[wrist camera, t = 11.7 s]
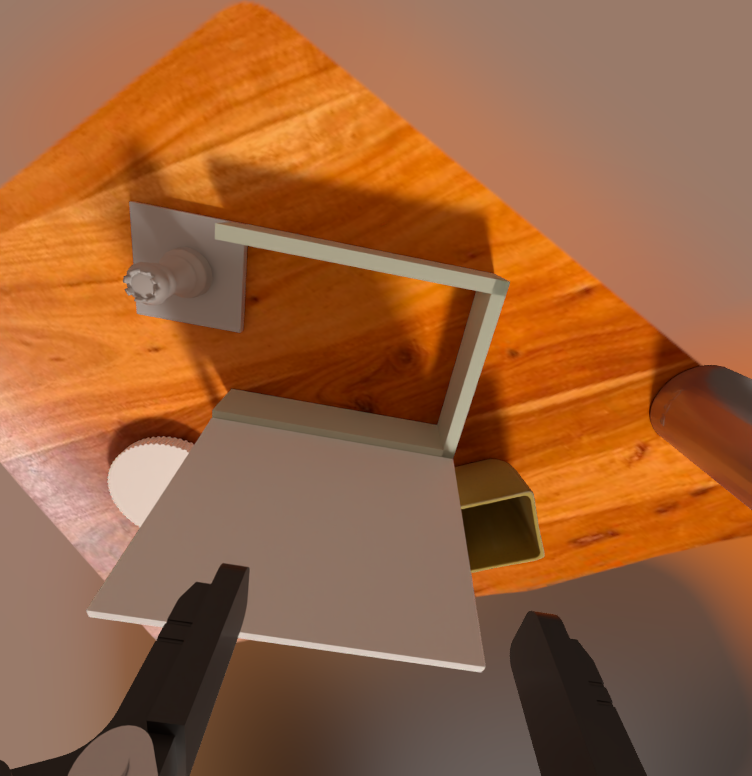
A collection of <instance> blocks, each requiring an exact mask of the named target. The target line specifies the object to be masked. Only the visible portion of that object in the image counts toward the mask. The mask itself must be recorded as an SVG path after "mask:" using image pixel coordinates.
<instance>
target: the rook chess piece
mask: <svg viewBox="0 0 752 776" xmlns="http://www.w3.org/2000/svg"><path fill="white" fill-rule="evenodd" d="M212 279H213V277H212V270H211V267H210V265H209V263H208V261H207V259H206V258H205V257H204V256H203V255H201V254H200V253H199V252H198V251H196V250H194V249H191V248H189V247H178V248H176V249H173V250H170V251H168V252H166V253H165V254H164V255H163V257H162V258H161V259H160V261H159V263H148V262H138V263H136V264H133V265H132V266H131V267H130V268H129V270H128V271H127V275H126V276H124V279H123V283H127V287H128V288H127V289H125V291H126V292H127V294H128V296H129V295H132V296H133V297H135V300H134V301H137V302H139V303H144V304H146V305H151V306H157V305H159V304H162V303H164V301H165V300H166V299H167V298H169V297H171V296H172V295H173V294H174V295H176V296H179V297H181V298H194V297H198V296H200V295H203V294H205V293H206V292H207V290H208V289H209V288H210V287H211V283H212Z"/></svg>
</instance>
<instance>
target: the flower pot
mask: <svg viewBox="0 0 752 776" xmlns="http://www.w3.org/2000/svg"><path fill="white" fill-rule="evenodd" d="M454 468H455V475H456V481H457V487H458V494H459V500H460V506H461V513H462V519H463V526H464V532H465V538H466V545H467V551H468V557H469V564H470V570H471V573H473V572H478V571H483V570H487V569H493V568H497V567H502V566H507V565H513V564H519V563H524V562H529V561H535V560H538V559H541V558H543V557H544V549H543V544H542V540H541V535H540V531H539V525H538V519H537V512H536V506H535V499H534V494H533V492H532V491H531V489H530V488H529V487H528V485H527V484H526V483H525V481H524V480H523V479H522V478H521V476H520V475H519V474H518V472H517V471H516V470H515V469H514V468H513V467H512V466H511V465H510V464H508V463H506V462H504V461H502V460H497V459H487V460H483V461H478V462H474V463H470V464H466V465H461V466H457V467H454Z"/></svg>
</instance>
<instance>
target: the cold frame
mask: <svg viewBox="0 0 752 776" xmlns="http://www.w3.org/2000/svg"><path fill="white" fill-rule="evenodd" d="M215 239H217V240H222V241H227V242H232V243H237V244H242V245H247V246H252V247H257V248H262V249H267V250H272V251H277V252H282V253H287V254H292V255H298V256H303V257H308V258H313V259H318V260H323V261H328V262H333V263H338V264H343V265H348V266H353V267H358V268H363V269H368V270H373V271H378V272H383V273H389V274H394V275H399V276H404V277H409V278H414V279H419V280H424V281H429V282H434V283H439V284H444V285H449V286H454V287H459V288H464V289H469V290H474V291H476V293H475V297H474V300H473V304H472V307H471V311H470V314H469V317H468V321H467V324H466V328H465V331H464V335H463V338H462V342H461V345H460V348H459V352H458V355H457V359H456V362H455V366H454V369H453V372H452V376H451V379H450V383H449V386H448V390H447V393H446V397H445V400H444V403H443V407H442V410H441V414H440V417H439V421H438V424H437V425H434V424H429V423H423V422H417V421H412V420H406V419H400V418H395V417H389V416H383V415H378V414H372V413H366V412H361V411H355V410H349V409H344V408H338V407H332V406H327V405H321V404H315V403H310V402H304V401H298V400H293V399H287V398H282V397H276V396H270V395H265V394H259V393H253V392H248V391H242V390H236V389H231V390H230V391H229V392H228V393H227V394H226V395H225V397H224V398H223V399H222V400H221V401H220V402H219V403H218V404H217V405H216V407H215V408H214V409H213V410H212V418H218V419H223V420H229V421H235V422H241V423H247V424H252V425H258V426H264V427H270V428H276V429H281V430H287V431H293V432H299V433H305V434H311V435H316V436H322V437H328V438H334V439H340V440H345V441H351V442H357V443H363V444H369V445H374V446H380V447H386V448H392V449H398V450H403V451H409V452H415V453H421V454H427V455H432V456H438V457H444V458H450V459H453V457H454V454H455V451H456V448H457V445H458V442H459V438H460V435H461V432H462V429H463V426H464V423H465V420H466V417H467V414H468V411H469V408H470V404H471V401H472V398H473V395H474V392H475V389H476V386H477V383H478V380H479V377H480V374H481V371H482V367H483V364H484V361H485V358H486V355H487V352H488V349H489V346H490V343H491V340H492V337H493V333H494V330H495V327H496V324H497V321H498V318H499V315H500V312H501V309H502V306H503V303H504V299H505V296H506V293H507V290H508V287H509V284H510V282H509V281H507V280H505V279H503V278H502V277H500V276H498V275H496V274H493V273H488V272H484V271H479V270H474V269H469V268H464V267H459V266H454V265H449V264H444V263H439V262H434V261H429V260H424V259H419V258H414V257H409V256H404V255H399V254H394V253H389V252H384V251H379V250H374V249H369V248H364V247H359V246H354V245H349V244H344V243H339V242H334V241H329V240H324V239H319V238H314V237H309V236H304V235H299V234H294V233H289V232H284V231H279V230H274V229H269V228H264V227H259V226H255V225H250V224H246V225H245V224H240V223H235V222H228V223H215Z"/></svg>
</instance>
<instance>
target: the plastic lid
mask: <svg viewBox="0 0 752 776" xmlns="http://www.w3.org/2000/svg"><path fill="white" fill-rule="evenodd" d="M193 446H194V444H193V443H192V442H190V443H189V442H188V441H187V440H185V441H183V440H182V439H177V438H175V437H174V438H171V437H168V438H167V437H165V436H163V437H160V436H157V437H156V438H155V437H152V438H149V437H148V438H146V439H142V440H141V441H140V440H138V441H137V442H134V443H133V444H131V445H130V446H129V447H127V448H126V449H125V450H124V451H123V452H122V453H121V454H119V455H118V456H117V457H116V458H115V460H114V461H113V463H112V464H111V468H109V470H110V471H109V472H108V474H109V476H108V477H107V478H108V479H109V480H108V481H107V482H108V483H109V484H108V487H109V491H110V492H111V493H110V495H111V496H112V500H114V503H115V504H116V505H117V506H116V507H117V508H119V509H120V512H123V515H125V516H126V518H127V519H130V521H131V522H134V523H135V525H138V526H139V527H141V525H142V524H143V522H144V521H145V519H146V518H147V516H148V515H149V513H150V512H151V510H152V509H153V507H154V506H155V504H156V502H157V501H158V499H159V498H160V496H161V495H162V493H163V492H164V490H165V489H166V487H167V486H168V484H169V483H170V481H171V480H172V478H173V477H174V475H175V473H176V472H177V470H178V469H179V467H180V466H181V464H182V463H183V461H184V460H185V458H186V457H187V455H188V454H189V452H190V451H191V449H192V447H193Z"/></svg>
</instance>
